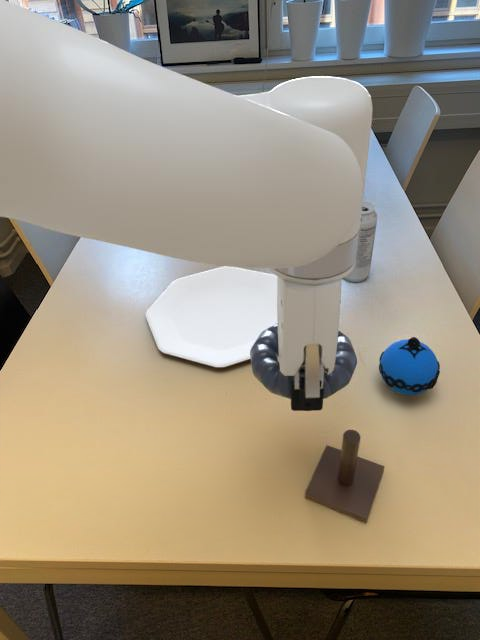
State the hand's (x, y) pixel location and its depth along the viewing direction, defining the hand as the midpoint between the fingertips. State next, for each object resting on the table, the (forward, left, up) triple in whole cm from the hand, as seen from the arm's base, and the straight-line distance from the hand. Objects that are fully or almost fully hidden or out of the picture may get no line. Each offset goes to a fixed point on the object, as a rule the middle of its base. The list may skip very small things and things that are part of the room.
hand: (305, 391), depth 52 cm
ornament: (+23, -8, -18) cm, 30 cm away
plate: (+27, +26, -18) cm, 41 cm away
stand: (+3, -5, -18) cm, 19 cm away
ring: (+4, +2, +1) cm, 4 cm away
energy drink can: (+49, +8, -18) cm, 53 cm away
